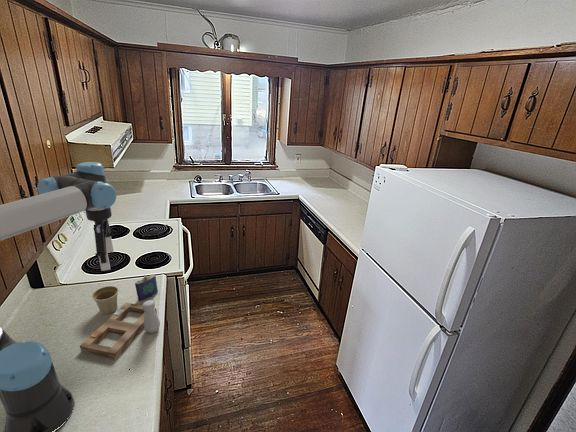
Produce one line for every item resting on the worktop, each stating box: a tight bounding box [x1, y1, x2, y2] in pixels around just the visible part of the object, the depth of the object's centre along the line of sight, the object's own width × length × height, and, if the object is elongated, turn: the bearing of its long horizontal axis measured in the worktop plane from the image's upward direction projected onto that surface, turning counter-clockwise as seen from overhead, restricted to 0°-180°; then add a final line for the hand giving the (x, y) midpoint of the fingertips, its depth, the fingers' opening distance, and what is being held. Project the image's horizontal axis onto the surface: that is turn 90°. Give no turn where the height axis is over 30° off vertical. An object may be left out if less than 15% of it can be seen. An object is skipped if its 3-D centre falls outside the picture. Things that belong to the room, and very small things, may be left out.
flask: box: [134, 273, 159, 302], centre depth 134 cm, size 9×3×11 cm, turn 144°
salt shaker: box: [141, 299, 161, 335], centre depth 115 cm, size 6×6×13 cm
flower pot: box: [91, 285, 119, 315], centre depth 125 cm, size 9×9×9 cm
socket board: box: [79, 302, 158, 359], centre depth 116 cm, size 24×14×3 cm, turn 169°
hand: (107, 260), depth 114 cm, fingers open, 13 cm apart
